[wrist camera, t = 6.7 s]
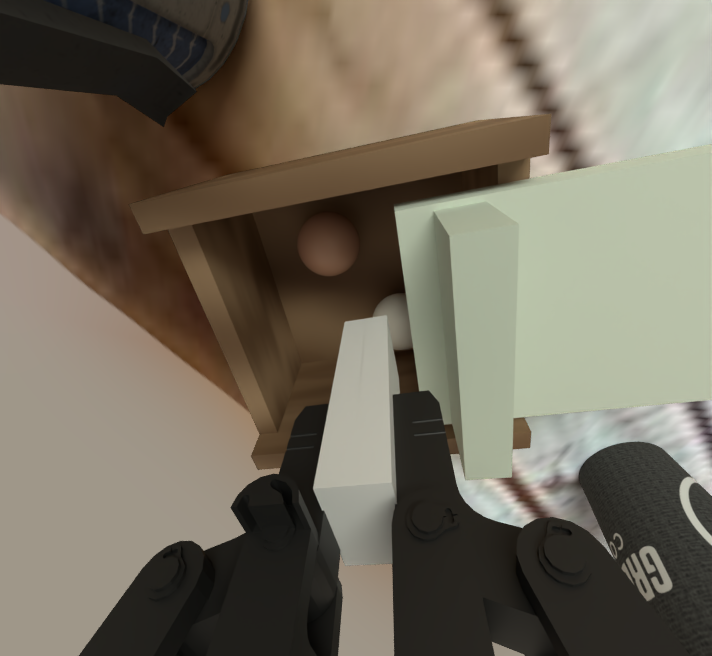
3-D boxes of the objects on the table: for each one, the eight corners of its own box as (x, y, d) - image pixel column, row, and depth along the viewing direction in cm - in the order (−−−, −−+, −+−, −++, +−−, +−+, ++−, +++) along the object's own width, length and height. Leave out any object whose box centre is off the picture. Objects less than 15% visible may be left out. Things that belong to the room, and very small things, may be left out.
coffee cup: (586, 419, 25) (801, 724, 12) (719, 434, 25) (1078, 757, 12) (541, 501, 30) (662, 783, 17) (653, 513, 30) (860, 807, 17)
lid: (393, 204, 12) (398, 236, 9) (837, 120, 10) (1090, 115, 7) (421, 407, 17) (432, 486, 13) (734, 376, 15) (850, 457, 11)
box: (227, 175, 19) (128, 204, 11) (477, 120, 17) (550, 113, 10) (294, 370, 25) (257, 469, 18) (483, 346, 23) (530, 448, 16)
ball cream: (368, 288, 21) (366, 313, 18) (423, 280, 20) (429, 304, 17) (377, 335, 22) (376, 364, 19) (428, 328, 22) (435, 357, 19)
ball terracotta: (296, 211, 19) (281, 226, 16) (355, 200, 18) (351, 213, 15) (311, 268, 20) (300, 290, 17) (366, 259, 20) (364, 280, 17)
